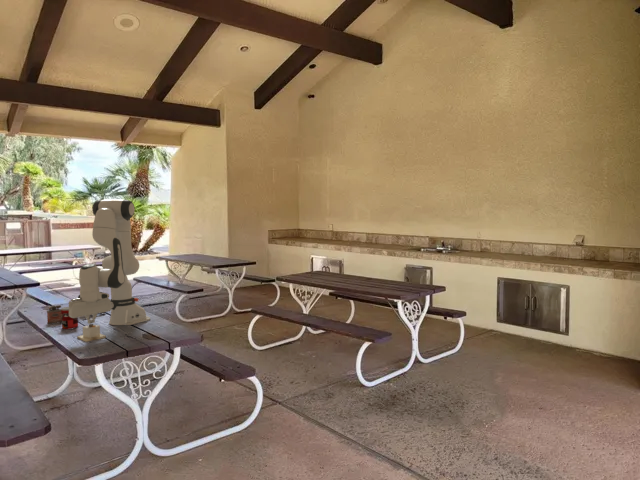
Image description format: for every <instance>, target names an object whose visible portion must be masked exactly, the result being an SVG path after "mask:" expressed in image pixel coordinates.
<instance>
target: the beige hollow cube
mask: <svg viewBox="0 0 640 480" xmlns="http://www.w3.org/2000/svg"><path fill="white" fill-rule="evenodd" d="M93 325H94V326H92V327H89V324H88V325H85V326H82V335H83V337H88V338H92V337H96V336H99V335H100V334H101V326H100V325H99V324H98V325H97V324H93Z"/></svg>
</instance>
